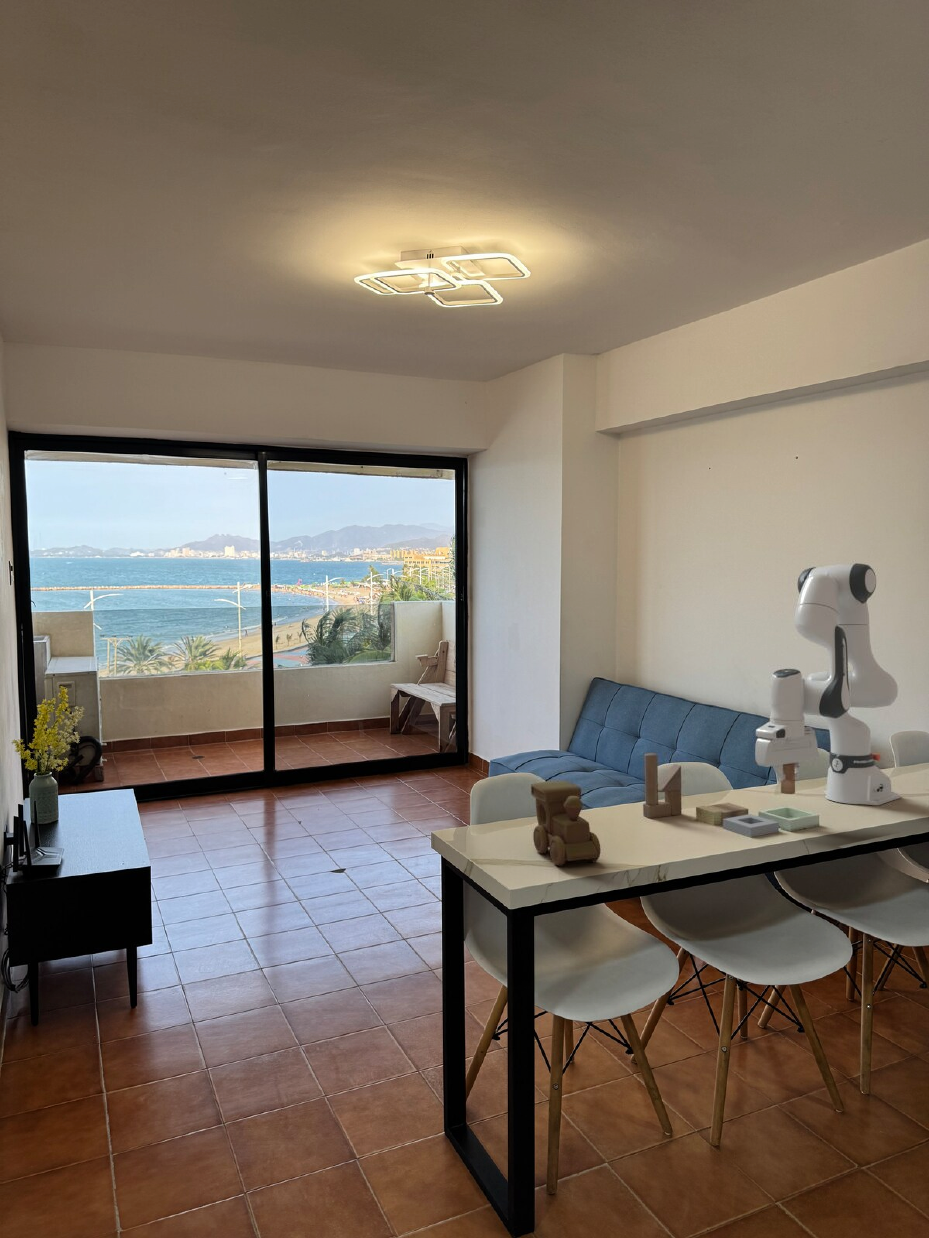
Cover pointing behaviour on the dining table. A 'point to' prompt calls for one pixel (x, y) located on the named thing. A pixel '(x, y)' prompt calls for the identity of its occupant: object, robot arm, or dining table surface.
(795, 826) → the tray
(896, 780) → the dining table surface
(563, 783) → the wooden toy train
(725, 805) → the brown flat block
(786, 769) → the dowel
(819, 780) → the dining table surface
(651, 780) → the wooden block
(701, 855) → the dining table surface
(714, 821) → the olive green block
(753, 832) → the socket block
